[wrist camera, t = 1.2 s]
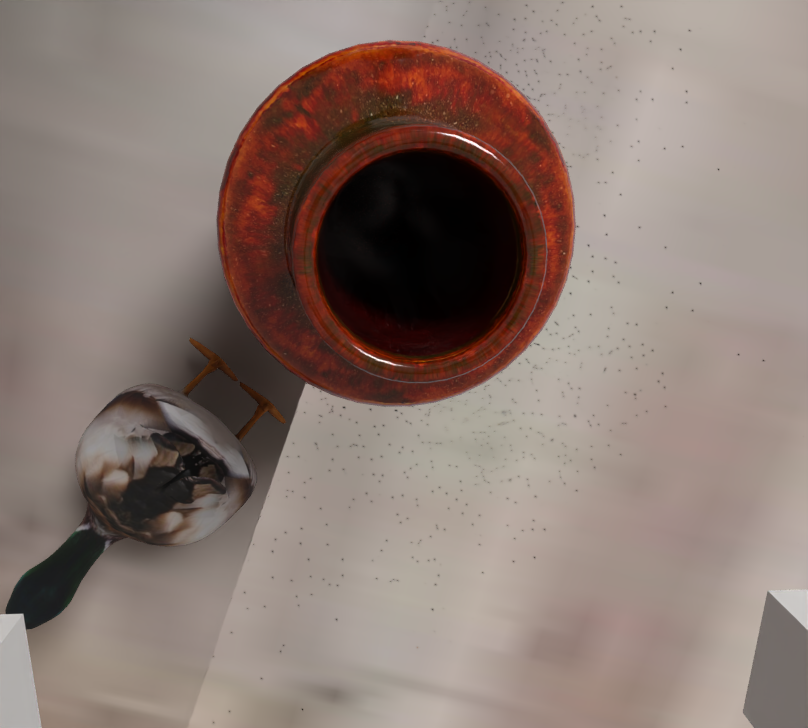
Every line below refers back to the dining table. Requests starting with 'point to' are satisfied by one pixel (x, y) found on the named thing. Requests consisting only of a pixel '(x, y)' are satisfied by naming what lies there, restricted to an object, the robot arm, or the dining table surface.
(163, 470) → the decorative duck model
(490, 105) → the vase
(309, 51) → the dining table surface
